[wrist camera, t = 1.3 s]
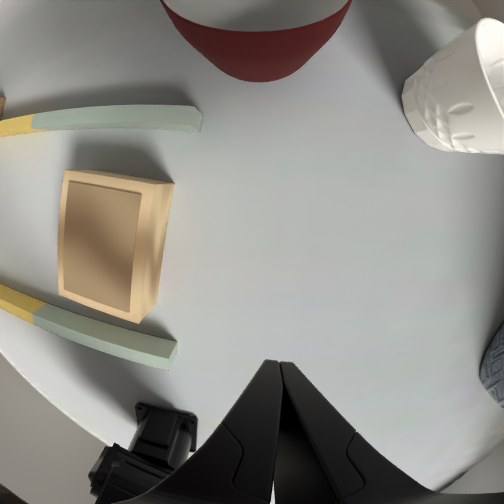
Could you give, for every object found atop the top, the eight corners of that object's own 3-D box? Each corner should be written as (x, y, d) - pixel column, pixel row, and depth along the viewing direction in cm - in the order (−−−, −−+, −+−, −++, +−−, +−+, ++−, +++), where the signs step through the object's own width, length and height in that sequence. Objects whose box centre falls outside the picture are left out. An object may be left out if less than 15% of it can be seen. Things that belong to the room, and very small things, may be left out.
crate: (158, 300, 21) (137, 325, 17) (85, 277, 21) (57, 295, 17) (176, 183, 19) (154, 184, 15) (95, 169, 19) (63, 169, 14)
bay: (177, 353, 22) (168, 370, 19) (-20, 282, 22) (-33, 289, 19) (202, 115, 17) (194, 106, 15) (-20, 130, 17) (-35, 130, 15)
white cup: (474, 161, 17) (563, 164, 7) (401, 156, 17) (498, 148, 8) (459, 74, 15) (535, 44, 5) (384, 58, 15) (454, -3, 6)
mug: (157, 48, 16) (93, -20, 6) (232, -14, 14) (215, -98, 4) (263, 129, 17) (263, 75, 8) (339, 58, 16) (392, -19, 6)
